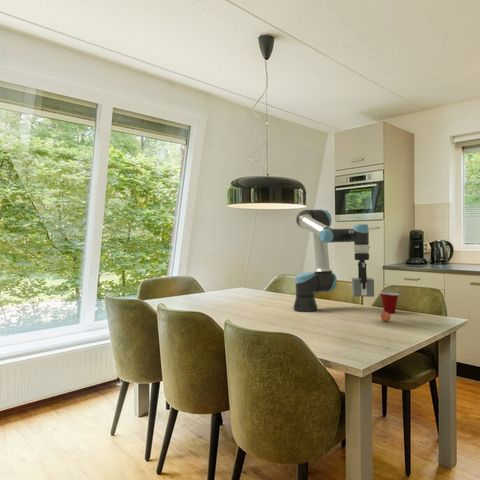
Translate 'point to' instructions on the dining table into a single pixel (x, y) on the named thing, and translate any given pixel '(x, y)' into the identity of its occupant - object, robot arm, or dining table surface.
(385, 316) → the ball
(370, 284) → the trap cup
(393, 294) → the plastic cup
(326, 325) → the dining table surface
